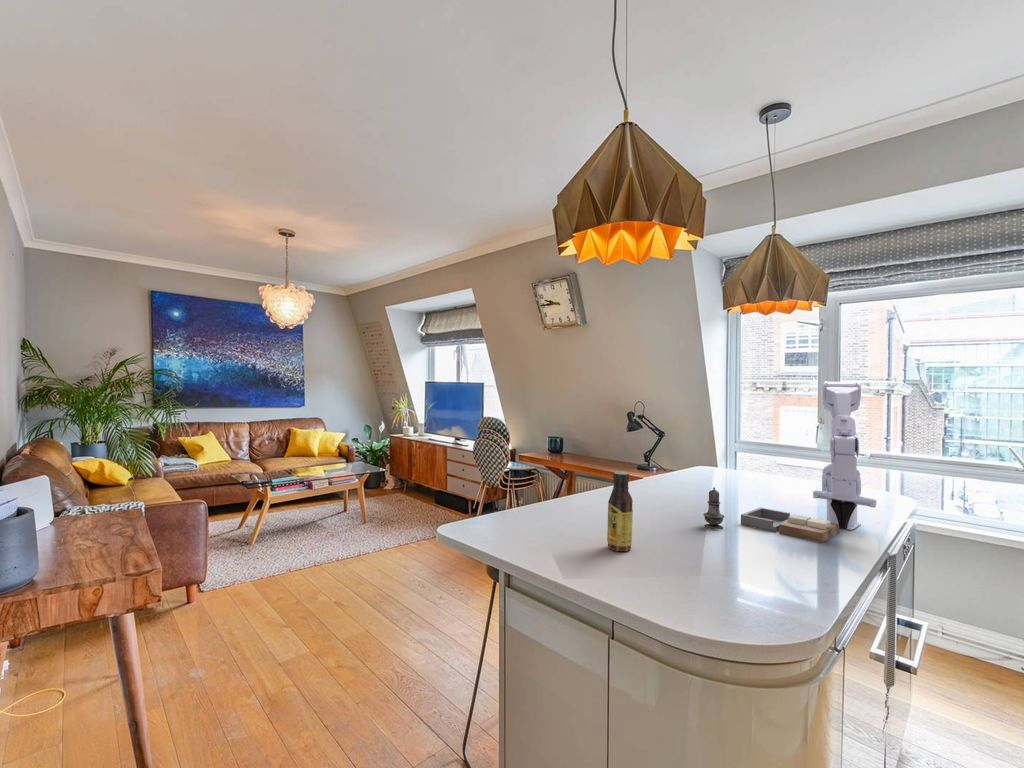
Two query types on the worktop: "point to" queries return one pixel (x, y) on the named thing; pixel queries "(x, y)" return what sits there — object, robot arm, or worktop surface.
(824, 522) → the cream tile
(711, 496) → the salt shaker
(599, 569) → the worktop surface
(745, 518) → the tray
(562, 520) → the worktop surface
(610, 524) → the sauce bottle
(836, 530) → the walnut board
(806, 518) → the sage tile
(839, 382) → the robot arm
